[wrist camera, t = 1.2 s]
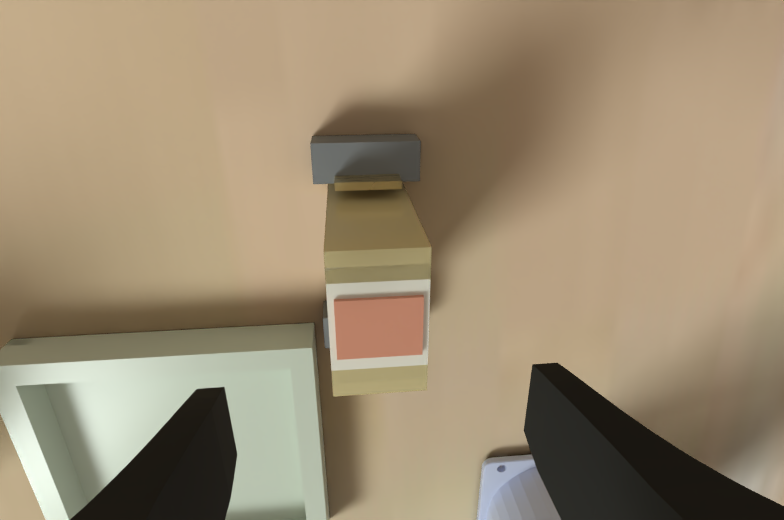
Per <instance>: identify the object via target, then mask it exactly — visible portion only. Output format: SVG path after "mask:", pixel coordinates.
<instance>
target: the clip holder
mask: <svg viewBox="0 0 784 520" xmlns="http://www.w3.org/2000/svg"><path fill="white" fill-rule="evenodd" d="M310 144H311V158H312V172H313V184H334V186H335V191H355V190H388V189H402V182H406V181H420V148H421V141H420V140H419V138H418V137H417V136H416V135H415V134H386V135H336V136H312V140H311V143H310ZM323 328H324V342H325V348H330V341H329V326H328V311H327V301H324V306H323Z"/></svg>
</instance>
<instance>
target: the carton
mask: <svg viewBox="0 0 784 520" xmlns="http://www.w3.org/2000/svg"><path fill="white" fill-rule="evenodd" d="M431 251H432V247H431V245H430V242H429V240H428V238H427V236H426V234H425V231H424V229H423V227H422V225H421V223H420V220H419V218H418V216H417V214H416V211H415V209H414V207H413V205H412V203H411V200H410V198H409V196H408V194H407V191H406V189H405V187H404V185H403V183H402V189H388V190H355V191H335V186H334V184H328V194H327V209H326V224H325V239H324V265H325V280H326V295H327V311H328V326H329V341H330V357H331V372H332V387H333V397H335V396H349V395H364V394H379V393H393V392H408V391H422V390H427V368H428V339H429V310H430V280H431Z"/></svg>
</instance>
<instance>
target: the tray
mask: <svg viewBox="0 0 784 520" xmlns="http://www.w3.org/2000/svg"><path fill="white" fill-rule="evenodd" d="M215 387H225V392H226V398H227V403H228V408H229V413H230V419H231V424H232V429H233V434H234V439H235V445H236V450H237V461H236V468H235V474H234V481H233V487H232V493H231V499H230V503H229V507H228V510H227V514H226V518H225V520H330V516H329V503H328V490H327V478H326V465H325V453H324V440H323V427H322V415H321V402H320V390H319V377H318V364H317V352H316V339H315V327H314V323H301V324H283V325H264V326H246V327H227V328H209V329H190V330H172V331H154V332H135V333H117V334H98V335H80V336H61V337H43V338H25V339H11V340H10V341H9V342H8V343H7V344H6V345H5V346H3V347H2V348H1V349H0V414H1V416H2V418H3V421H4V423H5V425H6V428H7V430H8V432H9V435H10V437H11V439H12V442H13V444H14V446H15V449H16V451H17V453H18V456H19V458H20V461H21V463H22V465H23V468H24V470H25V472H26V475H27V477H28V479H29V482H30V484H31V486H32V489H33V491H34V493H35V496H36V498H37V500H38V503H39V505H40V507H41V510H42V512H43V514H44V517H45V519H46V520H70V519H71V518H72V517H73V516H75V515H76V514H77V513H78V512H79V511H80V510H81V509H82V508H83V507H85V506H86V505H87V504H88V503H89V502H90V501H91V500H92V499H93V498H94V497H95V496H96V495H97V494H98V493H99V492H100V491H101V490H102V489H103V488H104V487H105V486H106V485H107V484H108V483H109V482H111V481H112V480H113V479H114V478H115V477H116V476H117V475H118V474H119V473H120V472H121V471H122V470H123V469H124V468H125V467H126V466H127V465H128V464H129V463H130V462H131V460H132V459H133V458H134V457H135V456H136V455H137V454H138V453H139V452H140V451H141V450H142V449H143V448H144V447H145V445H146V444H147V443H148V442H149V441H150V440H151V439H152V438H153V437H154V436H155V435H156V434H157V433H158V431H159V430H160V429H161V428H162V427H163V426H164V425H165V424H166V422H167V421H168V420H169V419H170V418H171V417H172V416H173V415H174V413H175V412H176V411H177V410H178V409H179V408H180V407H181V406H182V404H183V403H184V402H185V401H186V400H187V399H188V398H189V397H190V396H191V395H192V393H193V392H194V391H195V390H196V389H202V388H215Z"/></svg>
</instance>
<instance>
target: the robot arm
mask: <svg viewBox="0 0 784 520" xmlns="http://www.w3.org/2000/svg"><path fill="white" fill-rule="evenodd" d="M524 432H525V435H526V438H527V441H528V444H529V448H530V451H531V454H530V455H518V456H506V457H494V458H488V459H486V460H485V461H484V462H483V464H482V471H481V481H480V491H479V501H478V511H477V520H784V506H782V505H780V504H778V503H776V502H774V501H772V500H770V499H768V498H766V497H764V496H762V495H760V494H758V493H756V492H754V491H752V490H750V489H748V488H746V487H744V486H742V485H740V484H738V483H737V482H735V481H733V480H731V479H729V478H727V477H726V476H724V475H722V474H720V473H719V472H717V471H715V470H713V469H712V468H710V467H708V466H706V465H705V464H703V463H701V462H699V461H698V460H696V459H694V458H693V457H691V456H689V455H688V454H686V453H684V452H683V451H681V450H679V449H678V448H676V447H675V446H673V445H672V444H670V443H669V442H667V441H666V440H664V439H663V438H661V437H660V436H658V435H656V434H655V433H653V432H652V431H650V430H649V429H647V428H646V427H645V426H643V425H642V424H640V423H639V422H637V421H636V420H634V419H633V418H632V417H630V416H629V415H627V414H626V413H625V412H623V411H622V410H620V409H619V408H618V407H616V406H615V405H614V404H612V403H611V402H610V401H608V400H607V399H606V398H604V397H603V396H601V395H600V394H599V393H598V392H596V391H595V390H594V389H592V388H591V387H590V386H588V385H587V384H586V383H584V382H583V381H582V380H580V379H579V378H578V377H576V376H575V375H574V374H572V373H571V372H570V371H568V370H567V369H565V368H564V367H563V366H561V365H560V364H558V363H547V364H533V365H532V372H531V380H530V388H529V395H528V403H527V410H526V418H525V426H524ZM236 461H237V450H236V445H235V439H234V434H233V429H232V424H231V419H230V413H229V408H228V403H227V398H226V392H225V387H215V388H202V389H196V390H195V391H194V392H193V393H192V395H191V396H190V397H189V398H188V399H187V400H186V401H185V402H184V403H183V404H182V406H181V407H180V408H179V409H178V410H177V411H176V412H175V413H174V415H173V416H172V417H171V418H170V419H169V420H168V421H167V422H166V424H165V425H164V426H163V427H162V428H161V429H160V430H159V431H158V433H157V434H156V435H155V436H154V437H153V438H152V439H151V440H150V441H149V442H148V443H147V444H146V445H145V447H144V448H143V449H142V450H141V451H140V452H139V453H138V454H137V455H136V456H135V457H134V458H133V459H132V460H131V462H130V463H129V464H128V465H127V466H126V467H125V468H124V469H123V470H122V471H121V472H120V473H119V474H118V475H117V476H116V477H115V478H114V479H113V480H112V481H111V482H109V483H108V484H107V485H106V486H105V487H104V488H103V489H102V490H101V491H100V492H99V493H98V494H97V495H96V496H95V497H94V498H93V499H92V500H91V501H90V502H89V503H88V504H87V505H86V506H85V507H83V508H82V509H81V510H80V511H79V512H78V513H77V514H76V515H75V516H73V517H72V518H71V519H70V520H225V518H226V514H227V510H228V507H229V503H230V499H231V493H232V487H233V481H234V474H235V468H236ZM501 465H502V466H501ZM499 466H500V467H499Z"/></svg>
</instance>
